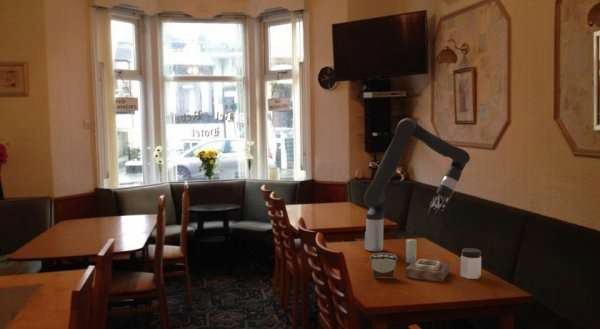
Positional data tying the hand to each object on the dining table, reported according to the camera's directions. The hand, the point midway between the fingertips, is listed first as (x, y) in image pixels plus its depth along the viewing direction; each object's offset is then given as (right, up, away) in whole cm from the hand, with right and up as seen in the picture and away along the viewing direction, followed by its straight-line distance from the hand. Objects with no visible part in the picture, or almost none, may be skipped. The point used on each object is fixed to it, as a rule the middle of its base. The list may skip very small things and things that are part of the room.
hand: (432, 215), depth 254 cm
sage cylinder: (-11, -23, 0) cm, 25 cm away
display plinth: (-8, -25, -21) cm, 34 cm away
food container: (-29, -25, -23) cm, 44 cm away
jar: (+11, -25, -24) cm, 36 cm away
